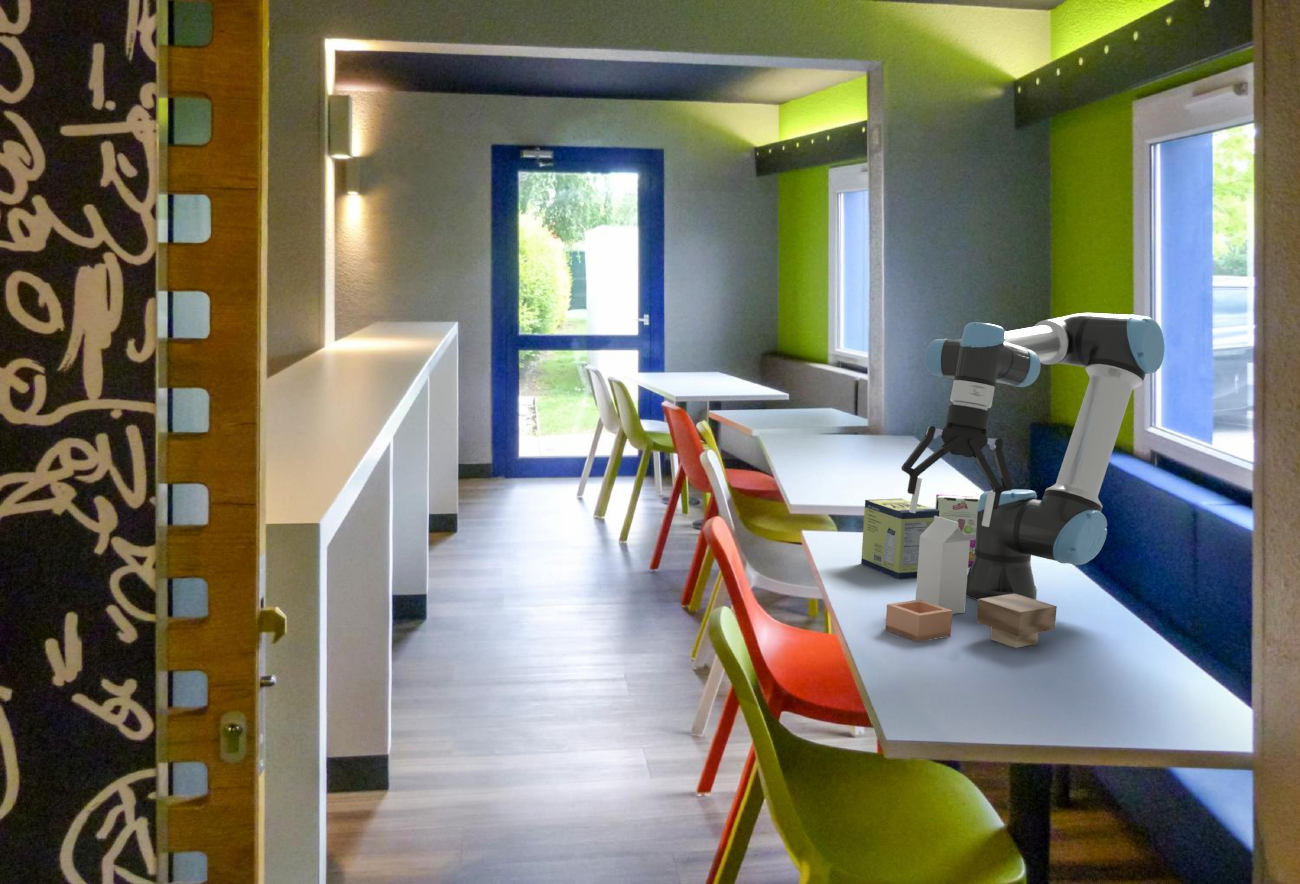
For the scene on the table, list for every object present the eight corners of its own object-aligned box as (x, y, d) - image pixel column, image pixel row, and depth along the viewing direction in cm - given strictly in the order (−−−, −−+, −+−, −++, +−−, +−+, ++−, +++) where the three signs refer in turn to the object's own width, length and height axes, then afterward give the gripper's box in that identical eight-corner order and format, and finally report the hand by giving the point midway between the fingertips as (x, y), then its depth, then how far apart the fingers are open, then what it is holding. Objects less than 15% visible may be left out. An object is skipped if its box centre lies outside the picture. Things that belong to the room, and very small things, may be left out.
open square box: (917, 624, 239) (919, 599, 238) (950, 636, 232) (952, 610, 231) (885, 629, 235) (887, 604, 234) (917, 641, 227) (919, 615, 227)
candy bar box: (978, 563, 295) (983, 496, 292) (980, 568, 290) (985, 499, 288) (931, 559, 296) (935, 493, 294) (932, 564, 292) (937, 496, 289)
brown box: (1012, 616, 237) (1014, 593, 236) (1054, 629, 228) (1056, 606, 228) (976, 622, 231) (978, 598, 231) (1018, 636, 223) (1020, 612, 222)
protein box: (896, 561, 293) (900, 497, 291) (936, 576, 279) (941, 509, 277) (859, 563, 289) (863, 499, 287) (898, 579, 275) (902, 511, 273)
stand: (1012, 635, 234) (1013, 619, 234) (1037, 643, 229) (1038, 628, 229) (990, 639, 231) (991, 623, 231) (1015, 647, 226) (1016, 632, 226)
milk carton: (937, 616, 245) (944, 523, 243) (914, 607, 252) (920, 516, 249) (964, 613, 249) (971, 521, 246) (941, 604, 255) (948, 514, 252)
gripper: (906, 393, 224) (884, 508, 224) (1042, 418, 223) (1020, 533, 223) (900, 395, 231) (879, 505, 232) (1031, 419, 230) (1010, 530, 230)
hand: (948, 519), depth 227 cm, fingers open, 13 cm apart
